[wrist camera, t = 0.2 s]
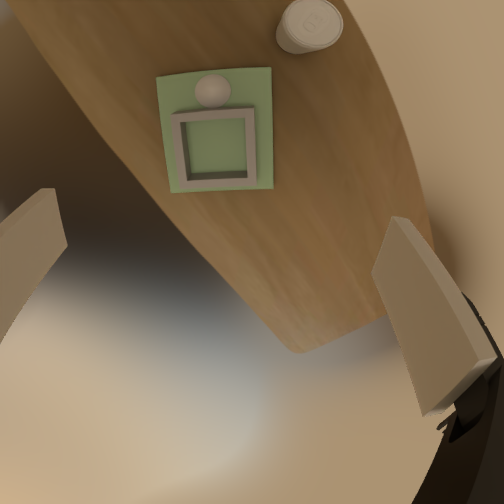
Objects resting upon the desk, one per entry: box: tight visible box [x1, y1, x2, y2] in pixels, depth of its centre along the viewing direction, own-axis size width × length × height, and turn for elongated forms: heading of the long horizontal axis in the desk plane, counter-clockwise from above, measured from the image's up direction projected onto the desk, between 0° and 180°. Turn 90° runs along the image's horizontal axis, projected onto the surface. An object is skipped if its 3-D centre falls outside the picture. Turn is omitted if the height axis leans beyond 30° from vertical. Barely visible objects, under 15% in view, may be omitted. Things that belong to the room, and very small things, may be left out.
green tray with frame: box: [156, 67, 273, 193], centre depth 32 cm, size 15×13×4 cm
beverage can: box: [276, 0, 343, 54], centre depth 22 cm, size 5×5×12 cm
